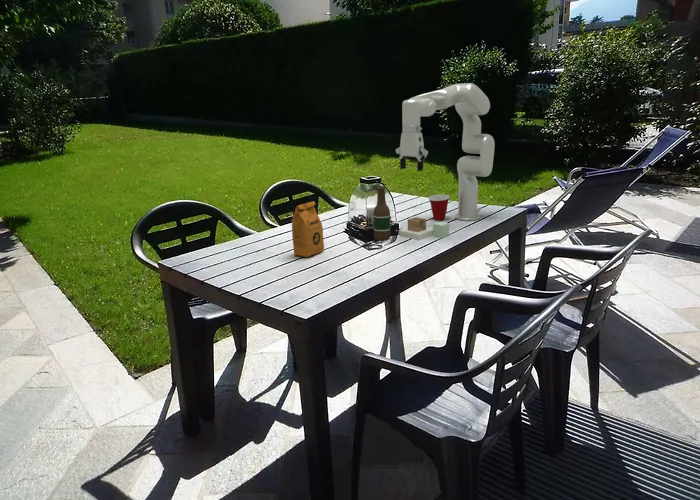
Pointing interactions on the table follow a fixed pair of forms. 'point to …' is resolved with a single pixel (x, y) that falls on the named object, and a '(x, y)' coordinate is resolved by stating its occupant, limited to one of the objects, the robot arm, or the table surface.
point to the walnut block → (416, 224)
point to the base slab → (416, 233)
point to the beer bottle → (381, 217)
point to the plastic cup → (439, 206)
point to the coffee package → (307, 231)
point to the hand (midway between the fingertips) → (411, 169)
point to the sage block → (441, 230)
